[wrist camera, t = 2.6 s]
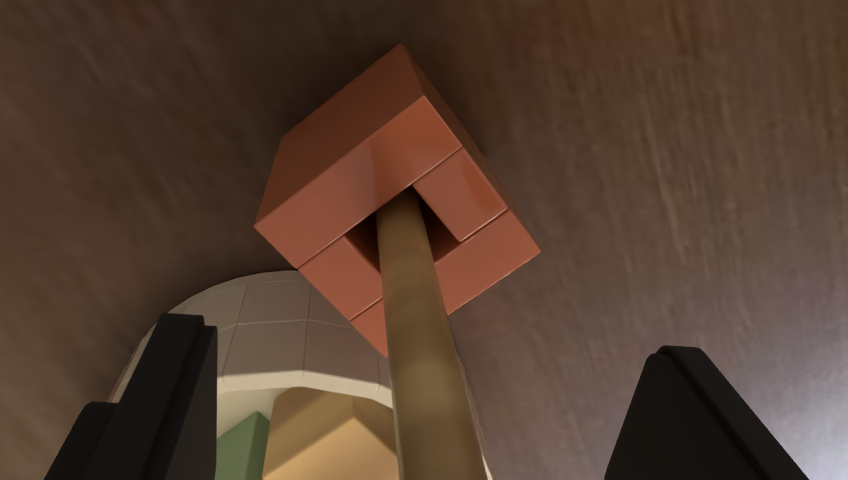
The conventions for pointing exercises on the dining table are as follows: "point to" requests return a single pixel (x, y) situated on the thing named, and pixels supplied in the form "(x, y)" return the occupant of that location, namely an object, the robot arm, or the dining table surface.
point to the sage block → (243, 450)
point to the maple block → (330, 438)
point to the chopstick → (422, 354)
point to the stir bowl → (285, 349)
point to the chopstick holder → (388, 194)
